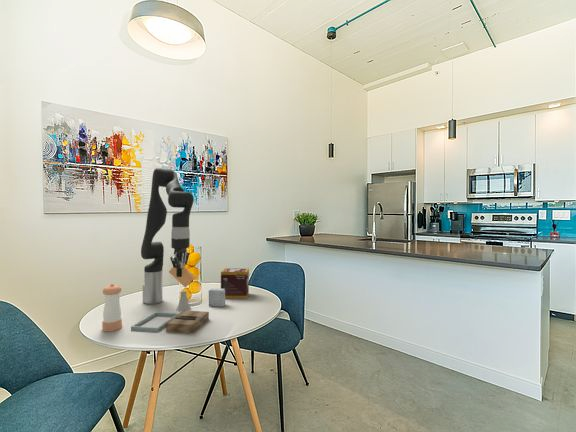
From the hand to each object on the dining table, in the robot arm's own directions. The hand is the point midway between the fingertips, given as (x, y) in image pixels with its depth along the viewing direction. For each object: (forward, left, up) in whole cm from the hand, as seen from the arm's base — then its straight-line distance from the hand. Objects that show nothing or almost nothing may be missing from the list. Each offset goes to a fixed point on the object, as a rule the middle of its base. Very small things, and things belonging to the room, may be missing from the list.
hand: (180, 276), depth 132 cm
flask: (-8, +19, -23) cm, 30 cm away
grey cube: (+5, +31, -23) cm, 38 cm away
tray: (-11, 0, -22) cm, 25 cm away
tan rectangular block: (+5, 0, -2) cm, 5 cm away
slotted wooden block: (+4, 0, -22) cm, 23 cm away
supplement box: (+9, +50, -23) cm, 55 cm away
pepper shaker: (-28, -6, -23) cm, 36 cm away
